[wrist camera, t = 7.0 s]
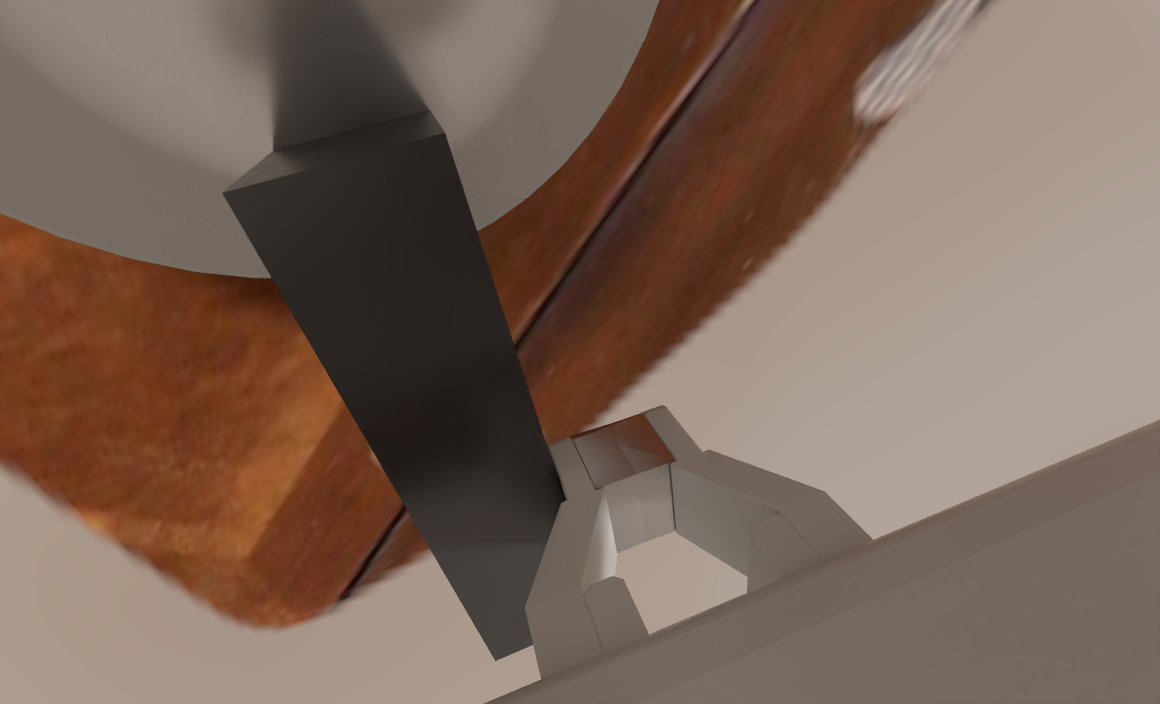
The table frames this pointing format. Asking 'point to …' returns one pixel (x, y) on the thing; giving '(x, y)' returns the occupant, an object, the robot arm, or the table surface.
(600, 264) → the table surface
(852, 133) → the table surface
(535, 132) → the lid
